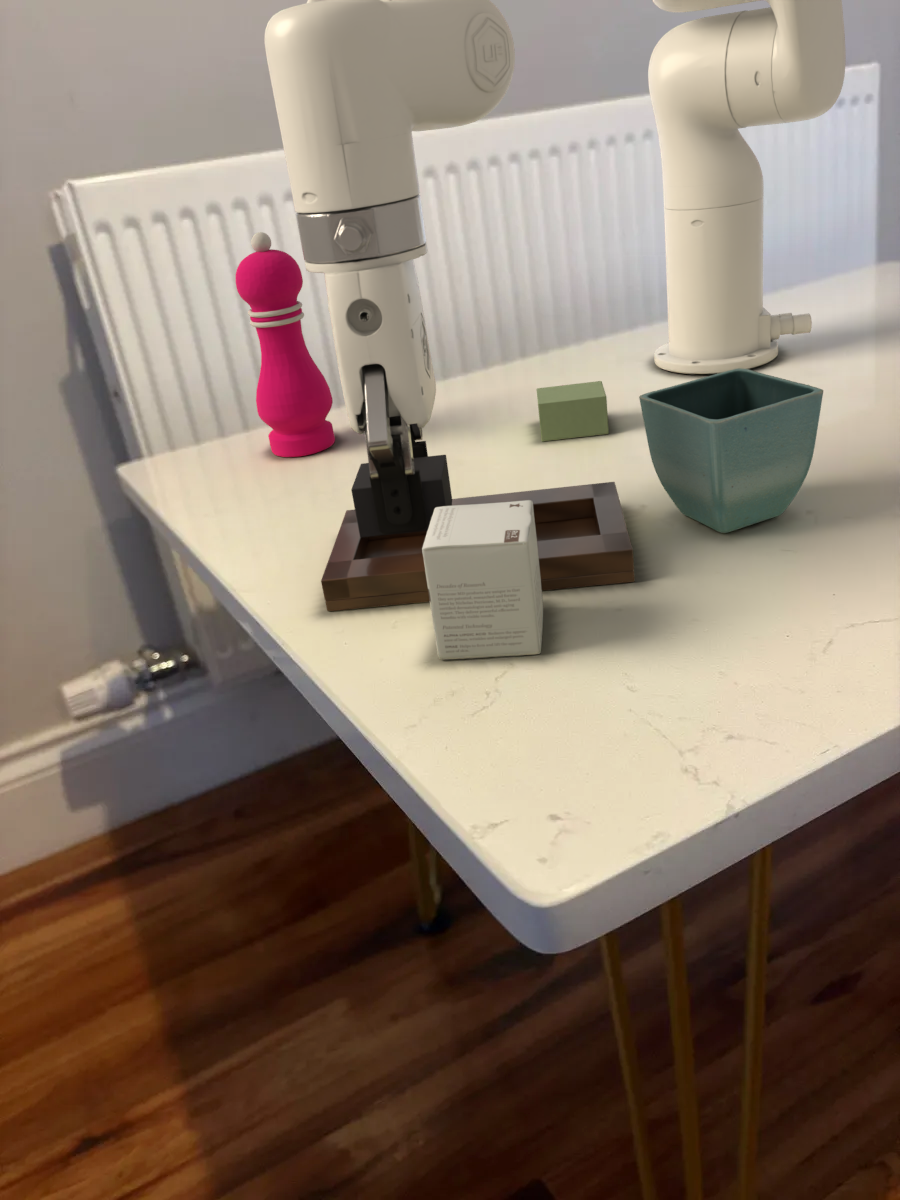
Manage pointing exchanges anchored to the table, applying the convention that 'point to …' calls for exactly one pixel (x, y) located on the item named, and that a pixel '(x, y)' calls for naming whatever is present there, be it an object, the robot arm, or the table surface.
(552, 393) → the green rectangular block
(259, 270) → the pepper mill
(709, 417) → the flower pot
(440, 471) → the black block
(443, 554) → the product carton
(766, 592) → the table surface
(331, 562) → the wooden tray
